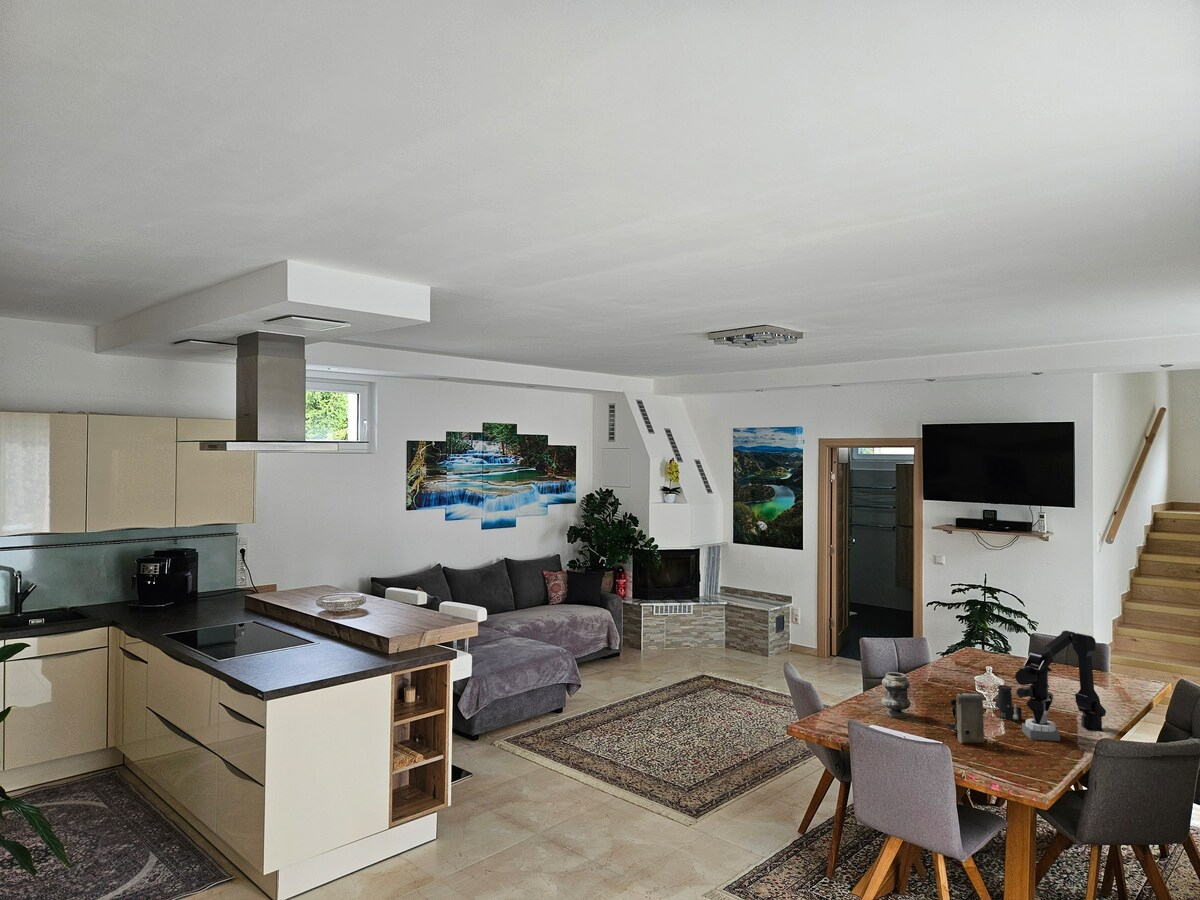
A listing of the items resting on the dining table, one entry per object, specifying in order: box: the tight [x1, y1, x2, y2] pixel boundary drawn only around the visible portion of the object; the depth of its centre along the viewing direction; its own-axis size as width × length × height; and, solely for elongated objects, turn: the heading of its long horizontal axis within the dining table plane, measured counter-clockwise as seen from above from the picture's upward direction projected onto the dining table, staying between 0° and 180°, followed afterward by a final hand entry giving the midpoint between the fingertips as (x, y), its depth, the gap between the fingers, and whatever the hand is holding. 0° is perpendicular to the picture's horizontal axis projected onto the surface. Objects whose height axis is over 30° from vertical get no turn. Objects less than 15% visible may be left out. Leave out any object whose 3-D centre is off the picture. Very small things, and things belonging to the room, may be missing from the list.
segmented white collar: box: [1021, 718, 1061, 742], centre depth 323 cm, size 11×10×6 cm
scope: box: [994, 684, 1023, 724], centre depth 345 cm, size 8×14×10 cm
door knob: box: [1032, 710, 1048, 725], centre depth 323 cm, size 5×5×7 cm
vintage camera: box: [944, 692, 985, 745], centre depth 321 cm, size 10×15×20 cm, turn 2°
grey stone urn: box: [881, 671, 912, 719], centre depth 351 cm, size 12×12×18 cm
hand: (1040, 720), depth 323 cm, fingers open, 9 cm apart
